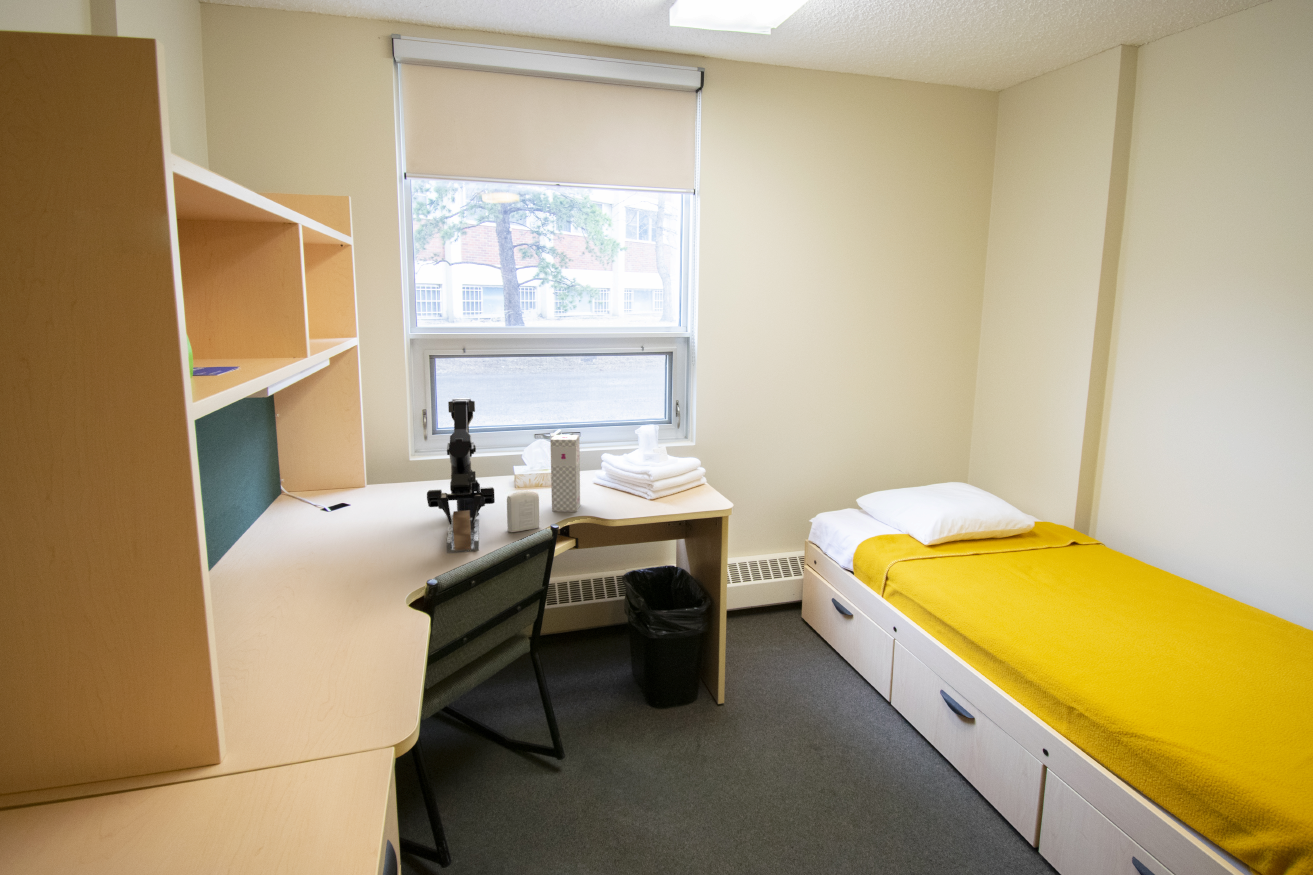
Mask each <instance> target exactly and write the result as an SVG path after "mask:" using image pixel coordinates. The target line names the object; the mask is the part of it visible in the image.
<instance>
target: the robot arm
mask: <svg viewBox="0 0 1313 875" xmlns="http://www.w3.org/2000/svg"><path fill="white" fill-rule="evenodd" d="M447 402H448V403H447V404H448V405H447V406H448V413H450V416H451V419H452V420H453V423H454V424H453V432H452V434H451V435H450V436H449V442H448V443H447V445H446V446H447V447H446V455H447V456H449V463H450V473H451V474H450V484H449V485H450V486H449V487H450V488H449V489H450V492H451V493H447V492H442V489H429V490H428V491H427V492H426V501H427V507H429V508H438V509H439V510H442V511H443V512H444V514H445V516H446V519H447V521H448V523H449V524H450V525H451V521H452V514H451V508H450V504H449V501H456V511H468V510H470V517H471V520H472V523H474V521H475V519H476V518H477V516H479V515H480V510H481V508H482V507H485V506H486V505H492V504H495V503H496V502H495V500H496V499H495V488H494V487H493V486H486V487H485V486H483V487H481V483H480V482H479V481H478V479H477V476H476V471H473V469H472V462H471V458H472V456H473V455H474V454H475V453H476V452H477V451H476V450H477V446H476V445H475V443H474V441H473V442H472V435H471V433H470V430H469V429H470V423H471V422H472V421H473V418H474V412H476V403H475V402H476V401H474V400H472V398H471V397H469V398H468V397H467V398H465V397H464V398H462V397H459V398H451V401H447ZM449 524H448V525H449Z"/></svg>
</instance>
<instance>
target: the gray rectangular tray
mask: <svg viewBox="0 0 1313 875" xmlns="http://www.w3.org/2000/svg"><path fill="white" fill-rule="evenodd" d="M470 526H471V549H466V550H455V549H454V530H453V520H451V525H450V524H448V531H447V539H446V553H447V554H451V553H464V552H475V551H477V552H478V551H480V550H479V549H480V519H479V518H477V519H475V521H474V523H472V519H470Z"/></svg>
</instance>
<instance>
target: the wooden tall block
mask: <svg viewBox="0 0 1313 875" xmlns="http://www.w3.org/2000/svg"><path fill="white" fill-rule="evenodd" d="M470 520H471V516H470V510H468V511H457V510H454V511H453V512H452V521H453V530H454V549H455V550H466V549H471V526H470Z"/></svg>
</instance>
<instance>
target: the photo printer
mask: <svg viewBox="0 0 1313 875" xmlns="http://www.w3.org/2000/svg"><path fill="white" fill-rule="evenodd" d="M506 516H507V522H506V523H507V532H509V533H516V532H522V531H527V530H534V529H539V528H540V497H539V493H538V492H536V491H534V490H520V491H516V492H513V493H511V494H509V495H507V497H506Z"/></svg>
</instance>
